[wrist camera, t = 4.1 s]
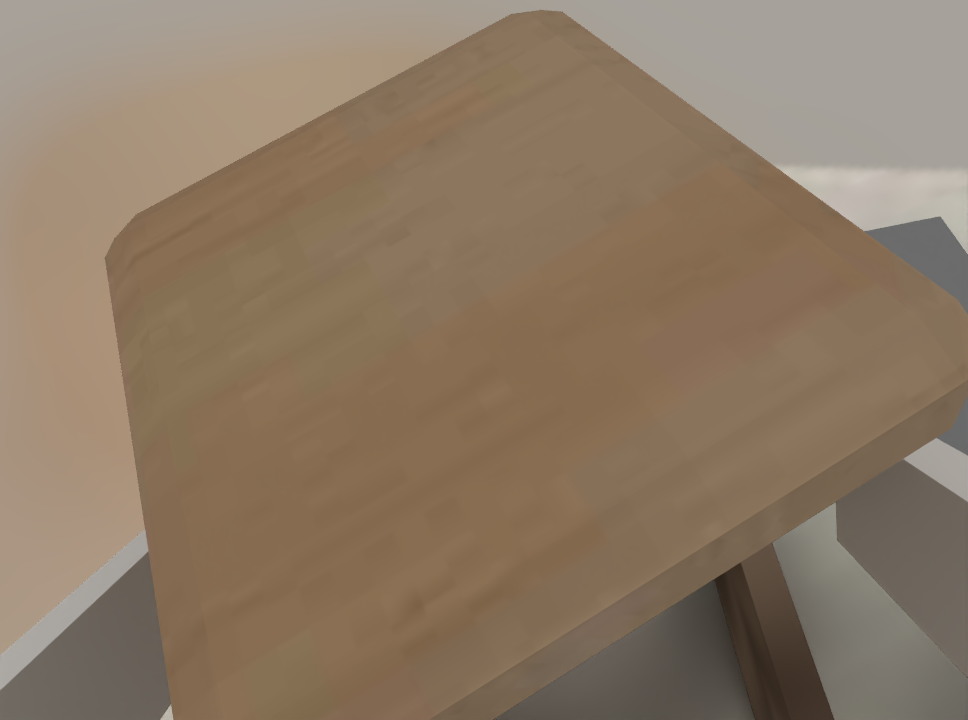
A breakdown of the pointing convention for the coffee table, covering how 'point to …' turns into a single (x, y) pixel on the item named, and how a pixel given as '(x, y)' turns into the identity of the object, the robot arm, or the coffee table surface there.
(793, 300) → the wooden block
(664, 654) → the coffee table surface
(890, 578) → the robot arm
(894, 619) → the coffee table surface
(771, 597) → the wooden u-shaped frame
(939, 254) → the pad
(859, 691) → the coffee table surface
